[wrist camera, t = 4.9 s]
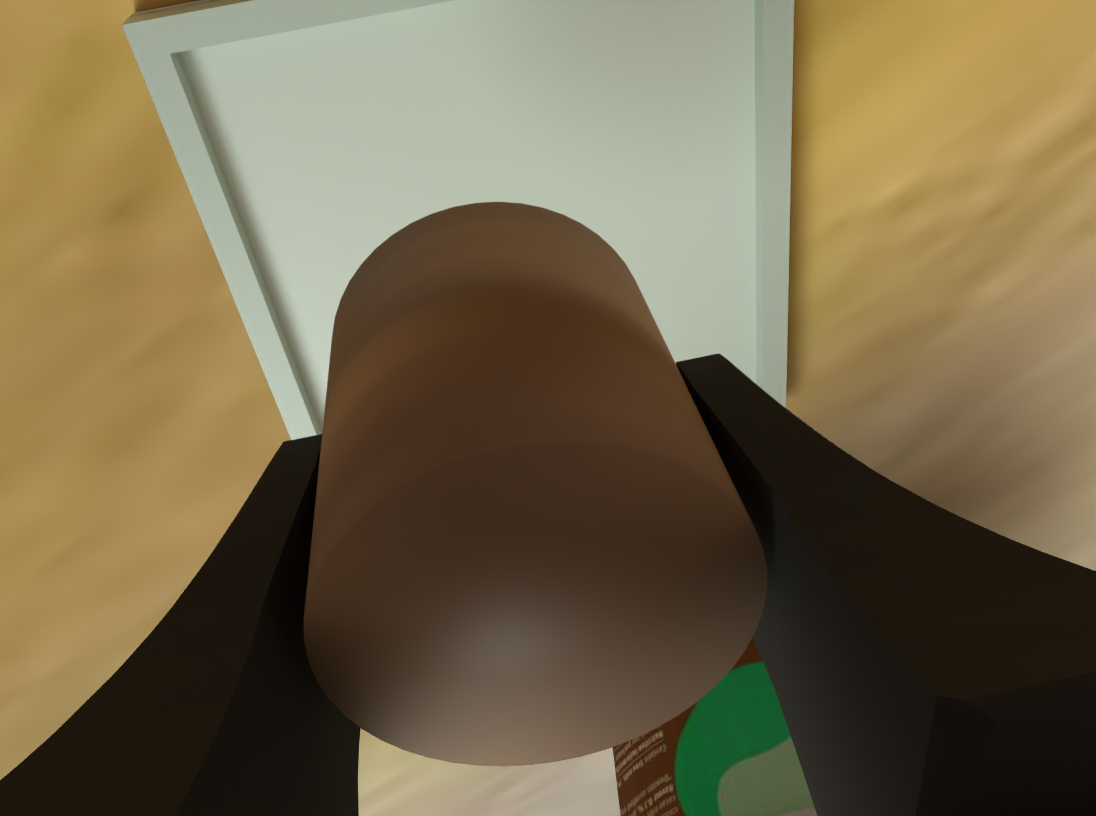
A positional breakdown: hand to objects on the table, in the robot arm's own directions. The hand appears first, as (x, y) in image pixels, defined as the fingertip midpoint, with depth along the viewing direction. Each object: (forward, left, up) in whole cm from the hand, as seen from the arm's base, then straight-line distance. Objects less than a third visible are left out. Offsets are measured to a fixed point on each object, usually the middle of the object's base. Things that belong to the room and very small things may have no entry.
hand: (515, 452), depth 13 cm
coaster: (+1, -1, -8) cm, 9 cm away
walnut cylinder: (0, +1, -2) cm, 2 cm away
